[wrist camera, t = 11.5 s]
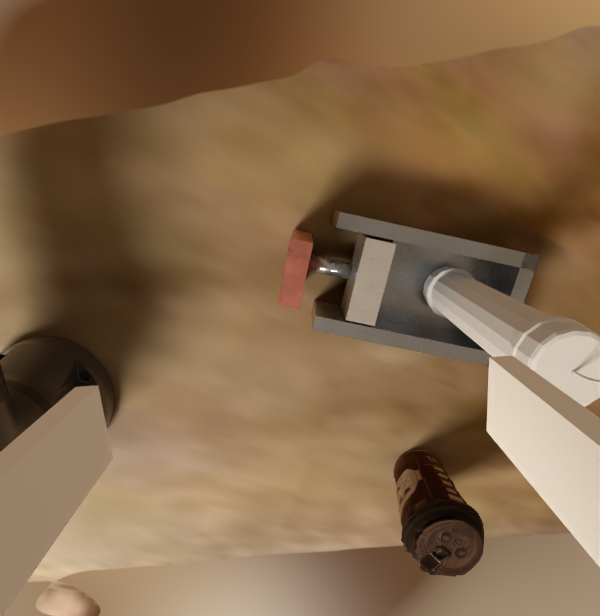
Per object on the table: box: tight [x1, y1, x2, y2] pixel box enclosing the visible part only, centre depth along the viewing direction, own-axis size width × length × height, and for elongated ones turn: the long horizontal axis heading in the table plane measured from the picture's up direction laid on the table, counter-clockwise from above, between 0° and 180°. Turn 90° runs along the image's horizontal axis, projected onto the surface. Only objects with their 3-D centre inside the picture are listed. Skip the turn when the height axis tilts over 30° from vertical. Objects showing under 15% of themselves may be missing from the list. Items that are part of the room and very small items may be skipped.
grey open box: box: [312, 210, 540, 366], centre depth 47 cm, size 20×12×7 cm, turn 78°
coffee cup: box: [394, 450, 484, 576], centre depth 50 cm, size 9×8×13 cm
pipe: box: [423, 267, 600, 407], centre depth 35 cm, size 6×6×30 cm
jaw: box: [277, 230, 396, 326], centre depth 44 cm, size 10×8×11 cm
